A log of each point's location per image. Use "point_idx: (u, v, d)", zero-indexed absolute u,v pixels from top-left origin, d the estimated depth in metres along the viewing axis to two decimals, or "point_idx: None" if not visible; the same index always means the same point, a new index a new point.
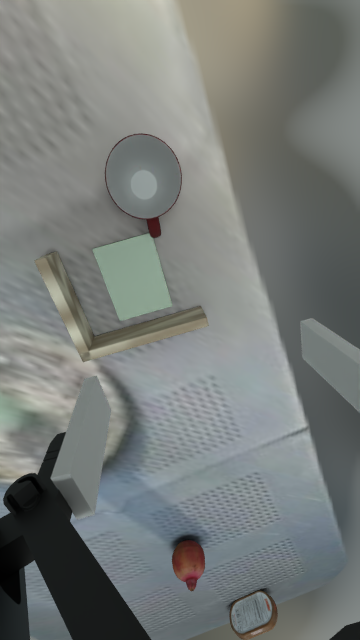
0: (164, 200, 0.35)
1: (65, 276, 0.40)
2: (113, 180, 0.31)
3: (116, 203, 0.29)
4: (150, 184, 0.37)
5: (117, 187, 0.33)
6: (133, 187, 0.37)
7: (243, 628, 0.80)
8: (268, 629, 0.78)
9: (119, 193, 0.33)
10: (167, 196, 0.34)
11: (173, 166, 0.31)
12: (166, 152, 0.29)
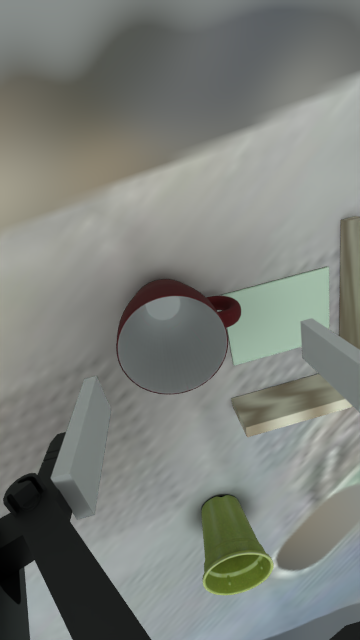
0: None
1: (261, 395, 0.34)
2: (167, 362, 0.24)
3: (204, 382, 0.21)
4: None
5: (172, 352, 0.25)
6: (166, 316, 0.29)
7: None
8: None
9: (179, 350, 0.25)
10: None
11: None
12: None
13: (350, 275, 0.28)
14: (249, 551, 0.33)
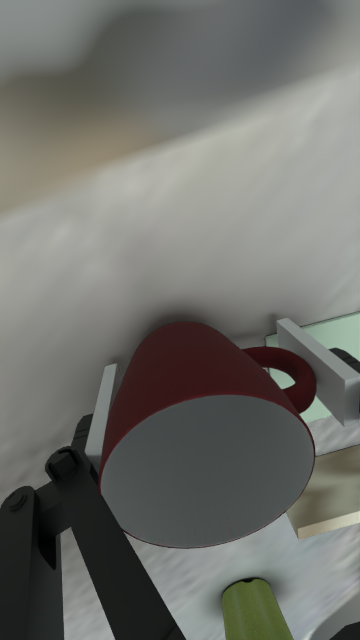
0: None
1: None
2: (188, 460, 0.15)
3: (261, 525, 0.11)
4: None
5: (196, 437, 0.16)
6: None
7: None
8: None
9: (208, 434, 0.16)
10: None
11: None
12: None
13: None
14: None
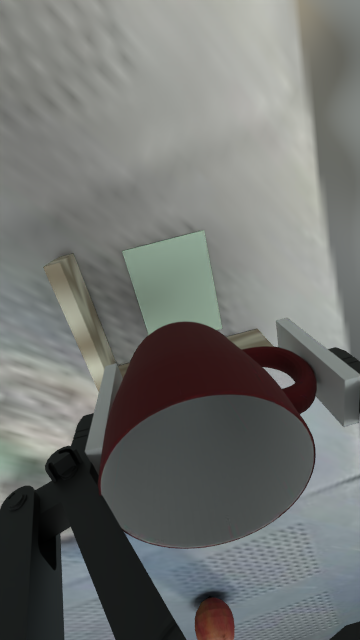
0: None
1: (83, 288, 0.29)
2: (188, 460, 0.15)
3: (261, 525, 0.11)
4: None
5: (196, 437, 0.16)
6: None
7: None
8: None
9: (208, 433, 0.16)
10: None
11: None
12: None
13: None
14: None
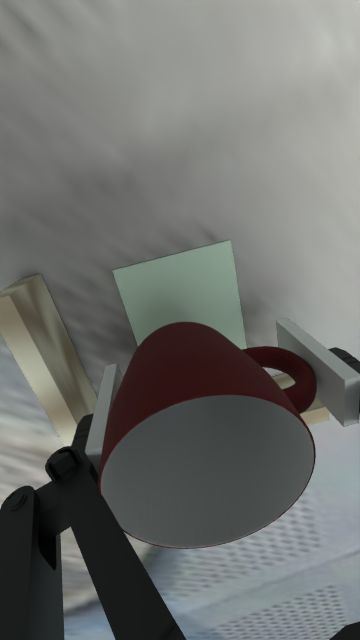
0: None
1: (57, 323, 0.20)
2: (188, 460, 0.15)
3: (261, 525, 0.11)
4: None
5: (196, 437, 0.16)
6: None
7: None
8: None
9: (208, 434, 0.16)
10: None
11: None
12: None
13: None
14: None
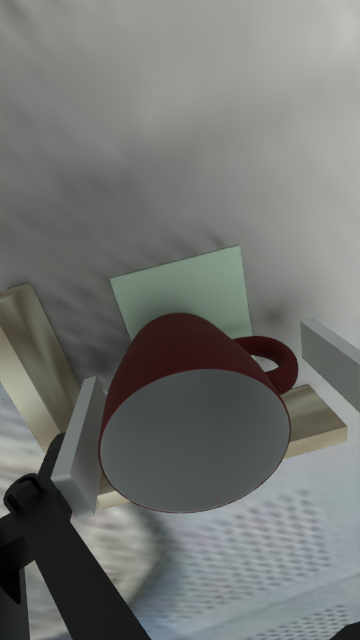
0: None
1: (49, 337, 0.18)
2: (181, 439, 0.16)
3: (245, 493, 0.13)
4: None
5: (189, 419, 0.17)
6: None
7: None
8: None
9: (200, 416, 0.17)
10: None
11: None
12: None
13: None
14: None
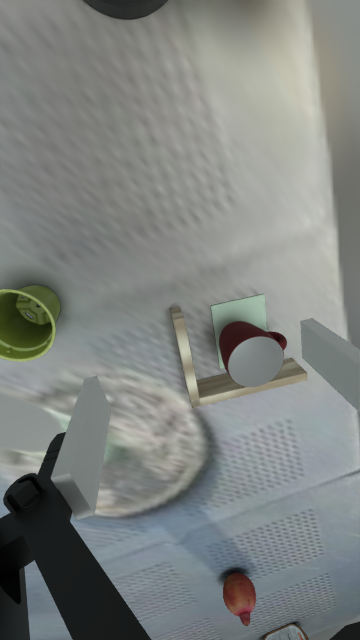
0: None
1: None
2: (241, 370, 0.41)
3: (268, 381, 0.38)
4: None
5: (243, 364, 0.43)
6: None
7: None
8: None
9: (247, 363, 0.43)
10: None
11: None
12: None
13: None
14: (55, 334, 0.33)
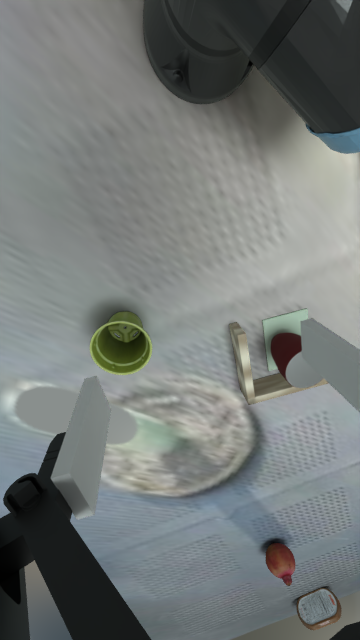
0: None
1: None
2: (292, 373, 0.50)
3: None
4: None
5: (292, 368, 0.51)
6: None
7: (311, 620, 0.92)
8: (334, 621, 0.91)
9: (295, 367, 0.51)
10: None
11: None
12: None
13: None
14: (151, 352, 0.43)
